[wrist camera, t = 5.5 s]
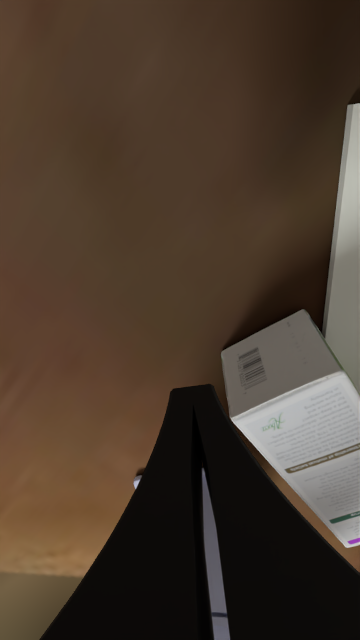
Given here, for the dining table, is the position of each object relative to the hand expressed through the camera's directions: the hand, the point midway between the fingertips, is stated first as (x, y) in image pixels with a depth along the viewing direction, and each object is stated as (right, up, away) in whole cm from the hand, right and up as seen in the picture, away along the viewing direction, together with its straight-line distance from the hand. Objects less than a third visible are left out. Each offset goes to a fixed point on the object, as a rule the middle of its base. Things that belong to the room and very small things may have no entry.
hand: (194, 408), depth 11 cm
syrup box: (+4, +1, +6) cm, 7 cm away
